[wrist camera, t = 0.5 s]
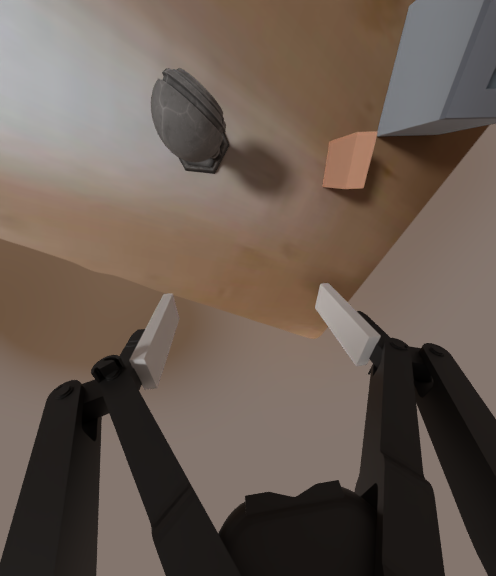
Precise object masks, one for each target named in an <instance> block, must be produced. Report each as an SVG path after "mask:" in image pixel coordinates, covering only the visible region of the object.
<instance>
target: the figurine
mask: <svg viewBox="0 0 496 576" xmlns="http://www.w3.org/2000/svg"><path fill="white" fill-rule="evenodd" d="M162 73H163V76H164V77H163V80H161V79H158V80H157V81H156V83H155V85H154V88H153V92H152V97H151V112H152V118H153V122H154V125H155V128H156V130H157V133H158V135H159V137H160V138H161V140H162V141H163V143H164V144H165V146H166V147H167V148H168V149H169V150H170V151H171V152H172V153H173V154H175V155H176V156H177V157H179V159H180V161H181V163H182V165H183V167H184V168H185V170H186V171H195V172H204V173H213V174H215V172H216V170H217V168H218V166H219V164H220V162H221V160H222V158H223V157H224V155H225V153H226V151H227V149H228V147H229V143H228V141H227V138H226V136H225V133H224V132H225V128H226V124H225V122H224V118H223V111H222V109H221V107H220V106H219V104H218V103H217V101H216V100H215V99H214V98H213V97H212V95H211V94H210V93H209V92H208V91H207V90H206V89H205V88H204V87H203V86H202V85H201V84H200V83H199V82H198V81H197V80H196V79H195V78H194V77H193V76H191V75H190V74H189V73H188V72H186V71H185V70H183V69H181V68H178V69H177V70H175V69H173V70H172V69H170V68H168V69H165V70H164V71H163V72H162Z"/></svg>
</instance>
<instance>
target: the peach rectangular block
mask: <svg viewBox="0 0 496 576" xmlns="http://www.w3.org/2000/svg"><path fill="white" fill-rule="evenodd" d="M377 133H378V132H356V133H353V134H350V135H347V136H344V137H341V138H338V139H335V140H332V141H330V142H329V148H328V155H327V161H326V168H325V175H324V181H323V187H329V188H339V189H359V188H364V184H365V180H366V176H367V173H368V169H369V165H370V161H371V157H372V153H373V149H374V145H375V141H376V137H377Z"/></svg>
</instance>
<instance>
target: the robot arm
mask: <svg viewBox="0 0 496 576" xmlns="http://www.w3.org/2000/svg"><path fill="white" fill-rule="evenodd" d="M315 308H316V310H317V311H318V313H319V314H320V315H321V317H322V318H323V320H324V321H325V323H326V324H327V325H328V327H329V328H330V330H331V331H332V333H333V334H334V335H335V337H336V338H337V340H338V341H339V343H340V344H341V345H342V347H343V348H344V350H345V351H346V353H347V354H348V355H349V357H350V358H351V359H352V361H353V362H354V364H355V365H356V366H361V365H367V363H368V361H369V359H370V360H371V361H372V363H373V365H372V367H371V369H370V371H369V373H368V374H370V373H371V377H370V385H369V394H368V403H367V413H366V421H365V430H364V439H363V448H362V457H361V467H360V474H359V477H358V480H357V483H356V488H355V492H352V491H351V490H349V489H346V488H343V487H341V486H340V483H339V480H336V481H331V482H324V483H318V484H315V485H314V486H312V487H311V488H309V489H308V490H306V491H304V492H303V493H301V494H300V495H298V496H296V497H290V496H286V495H281V494H277V493H272V492H265V493H259V494H253V495H248V496H245V500H246V503H245V502H244V503H242V504H241V505H239V506H238V507H237V508H236V509H235V510H234V511H233V512H232V513H231V514H230V515H229V516H228V518H227V519H226V521H225V522H224V524H223V526H222V528H221V529H220V531H219V533H217V531H216V529H215V527H214V525H213V524H212V522H211V520H210V518H209V516H208V515H207V513H206V511H205V509H204V507H203V506H202V504H201V502H200V500H199V499H198V497H197V495H196V493H195V491H194V490H193V488H192V486H191V484H190V482H189V480H188V479H187V477H186V475H185V473H184V471H183V470H182V468H181V466H180V464H179V462H178V461H177V459H176V457H175V455H174V454H173V452H172V450H171V448H170V446H169V444H168V443H167V441H166V439H165V437H164V435H163V433H162V432H161V430H160V428H159V426H158V424H157V423H156V421H155V419H154V417H153V415H152V414H151V412H150V410H149V408H148V406H147V405H146V403H145V401H144V399H143V397H142V396H141V394H140V392H139V390H140V387H141V385H142V386H143V388H144V389H154V388H158V384H159V381H160V378H161V375H162V372H163V369H164V365H165V362H166V359H167V356H168V353H169V350H170V347H171V343H172V340H173V337H174V334H175V331H176V328H177V324H178V321H179V315H178V312H177V307H176V304H175V300H174V296H173V294H164V295H163V296H162V298H161V300H160V302H159V304H158V306H157V308H156V310H155V312H154V313H153V316H152V317H151V319H150V321H149V323H148V325H147V327H146V329H141V330H137V331H136V332H135V333H134V334H133V335H132V336H131V337H130V339H129V341H128V343H127V344H126V346H125V348H124V349H123V351H122V353H121V354H120V356H118V355H111V356H107V357H105V358H103V359H101V360H100V361H98V362H97V363H96V364H95V365H94V366H93V368H92V370H91V374H92V375H93V377H94V378H95V380H92V381H90V382H87V383H84V384H81V383H80V382H79V381H78V380H71V381H68V382H65V383H63V384H62V385H60V386H58V387H57V388H56V389H54V390H53V391H52V392H51V394H50V395H49V396H48V398H47V401H46V404H45V408H44V411H43V415H42V418H41V422H40V425H39V429H38V432H37V436H36V439H35V443H34V447H33V450H32V453H31V457H30V460H29V464H28V467H27V471H26V474H25V478H24V481H23V485H22V488H21V492H20V495H19V499H18V503H17V506H16V509H15V513H14V516H13V520H12V523H11V527H10V530H9V534H8V537H7V541H6V544H5V548H4V551H3V555H2V559H1V562H0V576H96V564H97V535H98V506H99V478H100V448H101V447H100V446H101V420H102V416H103V415H106V414H108V413H110V416H111V419H112V421H113V424H114V426H115V429H116V432H117V435H118V437H119V440H120V442H121V445H122V448H123V451H124V453H125V456H126V459H127V461H128V464H129V467H130V469H131V472H132V475H133V477H134V480H135V483H136V485H137V488H138V490H139V493H140V496H141V499H142V501H143V504H144V506H145V509H146V512H147V515H148V517H149V520H150V523H151V527H152V537H153V541H154V544H155V547H156V550H157V553H158V555H159V558H160V561H161V564H162V566H163V569H164V572H165V575H166V576H445V573H444V565H443V558H442V550H441V542H440V535H439V527H438V519H437V511H436V504H435V497H434V492H433V488H432V486H431V484H430V483H429V482H428V481H427V480H425V478H424V474H423V466H422V457H421V447H420V437H419V427H418V418H417V408H416V403H417V406H418V408H419V411H420V413H421V416H422V418H423V420H424V423H425V426H426V428H427V431H428V433H429V436H430V438H431V441H432V443H433V446H434V449H435V451H436V454H437V456H438V459H439V461H440V464H441V466H442V469H443V471H444V474H445V476H446V479H447V481H448V484H449V486H450V489H451V491H452V494H453V496H454V499H455V502H456V504H457V507H458V509H459V512H460V514H461V517H462V519H463V522H464V524H465V527H466V529H467V532H468V534H469V536H470V539H471V541H472V543H473V546H474V548H475V550H476V552H477V555H478V556H479V558H480V560H481V562H482V564H483V566H484V568H485V570H486V572H487V574H488V576H496V419H495V417H494V416H493V415H492V413H491V412H490V410H489V409H488V408H487V406H486V405H485V403H484V402H483V400H482V399H481V398H480V396H479V395H478V393H477V392H476V390H475V389H474V387H473V386H472V384H471V383H470V382H469V380H468V379H467V377H466V376H465V374H464V373H463V372H462V370H461V369H460V367H459V366H458V364H457V363H456V361H455V360H454V359H453V357H452V356H451V354H450V353H449V352H448V351H447V350H445V349H444V348H442V347H440V346H438V345H435V344H432V343H426V344H424V345H423V346H422V348H415V347H409V346H408V345H407V344H406V343H404V342H403V341H401V340H399V339H395V338H390V337H389V336H388V335H387V334H386V333H385V332H384V331H383V330H382V329H381V328H380V327H379V326H378V325H376V324H375V322H373V321H372V320H371V319H370V318H369V317H368V316H367V315H366V314H364V313H363V312H361V311H356V310H355V309H354V308H353V307H352V306H350V304H349V303H348V302H347V301H346V300H345V299H344V298H343V297H342V296H341V295H340V294H339V293H338V292H337V291H336V290H335V289H334V288H333V287H332V286H331V285H330V284H329V283H323V284H320V288H319V293H318V297H317V302H316V306H315Z"/></svg>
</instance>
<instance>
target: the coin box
mask: <svg viewBox="0 0 496 576" xmlns="http://www.w3.org/2000/svg"><path fill="white" fill-rule="evenodd" d="M495 123H496V0H416V1H415V2H413V3H412V4H411V5H410V6H409V9H408V13H407V17H406V21H405V25H404V29H403V33H402V37H401V41H400V45H399V48H398V52H397V56H396V60H395V64H394V68H393V72H392V76H391V80H390V84H389V88H388V92H387V96H386V100H385V104H384V108H383V112H382V115H381V119H380V123H379V127H378V131H377V132H378V133H377V136H412V135H439V134H444V133H449V132H455V131H460V130H465V129H470V128H475V127H480V126H485V125H490V124H495Z"/></svg>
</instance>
